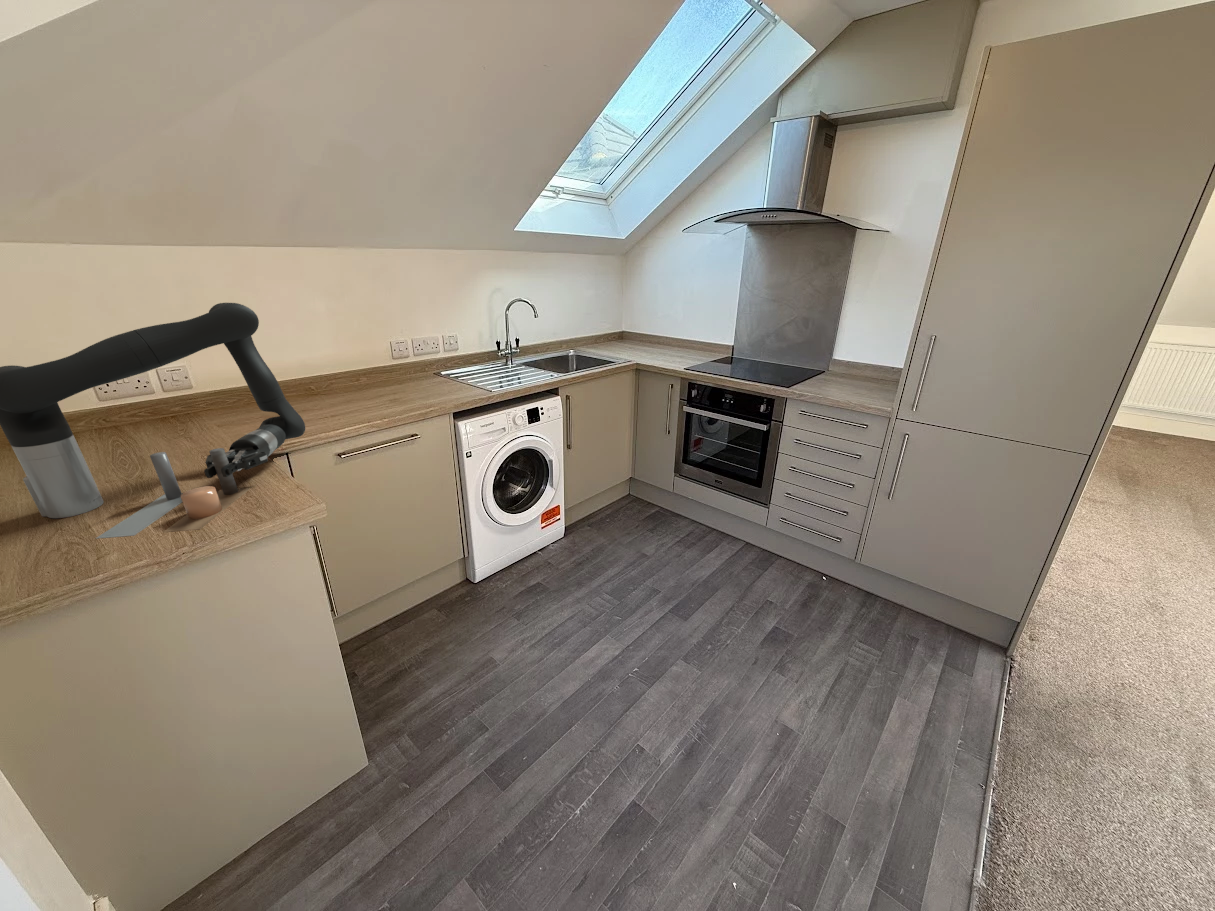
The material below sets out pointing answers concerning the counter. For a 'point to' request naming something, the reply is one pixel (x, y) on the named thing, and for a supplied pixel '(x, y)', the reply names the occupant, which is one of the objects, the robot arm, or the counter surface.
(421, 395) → the counter surface
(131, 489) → the counter surface
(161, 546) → the counter surface
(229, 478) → the peg on wooden base
